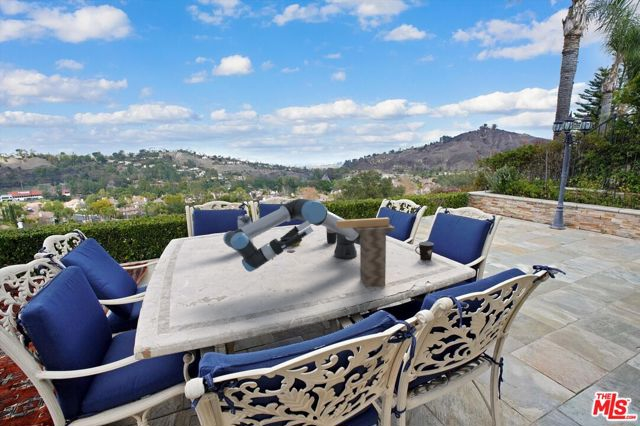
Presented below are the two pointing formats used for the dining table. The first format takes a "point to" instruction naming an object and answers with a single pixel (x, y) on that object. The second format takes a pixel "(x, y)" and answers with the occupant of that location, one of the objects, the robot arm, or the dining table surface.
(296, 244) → the flower pot
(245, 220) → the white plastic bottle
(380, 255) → the walnut stand
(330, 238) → the travel mug
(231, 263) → the dining table surface
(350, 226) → the brown block
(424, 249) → the coffee mug
